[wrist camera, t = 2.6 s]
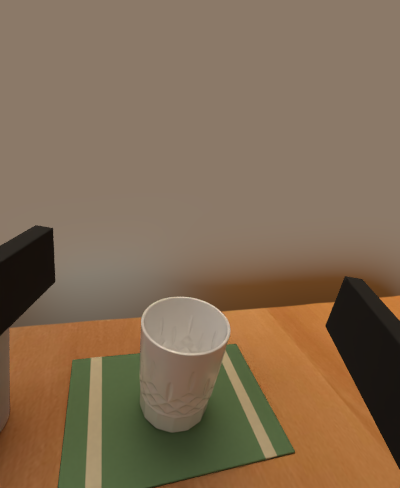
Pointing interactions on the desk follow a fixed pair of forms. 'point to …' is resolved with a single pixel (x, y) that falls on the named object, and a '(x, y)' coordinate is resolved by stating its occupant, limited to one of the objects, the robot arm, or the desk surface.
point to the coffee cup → (4, 379)
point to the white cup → (180, 360)
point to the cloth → (159, 441)
